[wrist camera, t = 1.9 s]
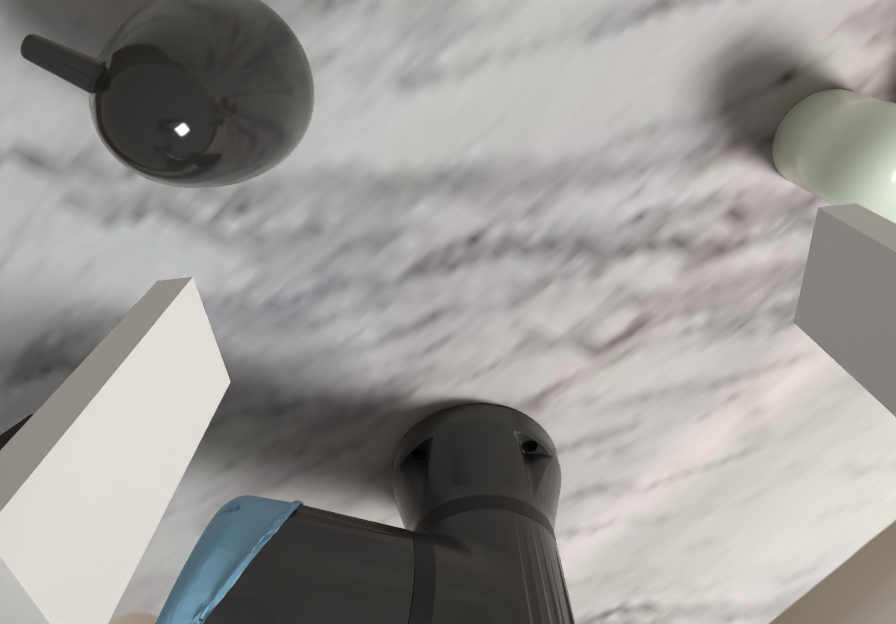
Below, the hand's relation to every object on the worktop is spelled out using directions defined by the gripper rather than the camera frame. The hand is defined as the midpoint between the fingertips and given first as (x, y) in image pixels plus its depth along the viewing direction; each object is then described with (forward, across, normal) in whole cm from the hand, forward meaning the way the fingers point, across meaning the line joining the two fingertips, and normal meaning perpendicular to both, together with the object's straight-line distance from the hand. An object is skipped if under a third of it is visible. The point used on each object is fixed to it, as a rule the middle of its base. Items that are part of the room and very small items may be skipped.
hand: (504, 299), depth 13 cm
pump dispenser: (+29, +13, -2) cm, 32 cm away
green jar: (+29, -24, +6) cm, 38 cm away
